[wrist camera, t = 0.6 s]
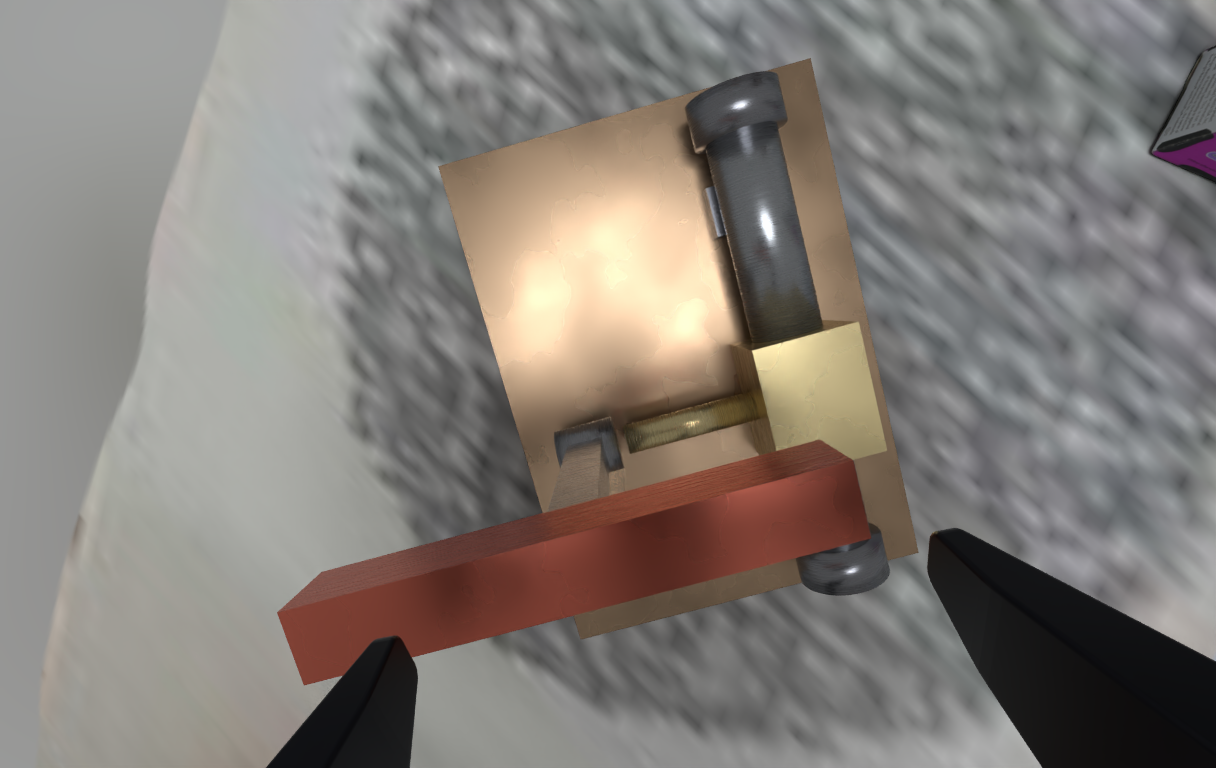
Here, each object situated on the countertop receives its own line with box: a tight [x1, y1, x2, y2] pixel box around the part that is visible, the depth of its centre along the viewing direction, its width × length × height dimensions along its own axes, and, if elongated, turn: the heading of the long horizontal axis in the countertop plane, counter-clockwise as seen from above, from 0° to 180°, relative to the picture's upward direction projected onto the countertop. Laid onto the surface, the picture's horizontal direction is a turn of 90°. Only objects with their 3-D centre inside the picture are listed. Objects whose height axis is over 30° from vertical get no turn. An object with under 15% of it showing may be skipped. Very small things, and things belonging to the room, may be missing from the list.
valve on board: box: [438, 58, 918, 639], centre depth 24 cm, size 22×16×5 cm
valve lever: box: [277, 417, 871, 685], centre depth 19 cm, size 2×13×13 cm, turn 106°
